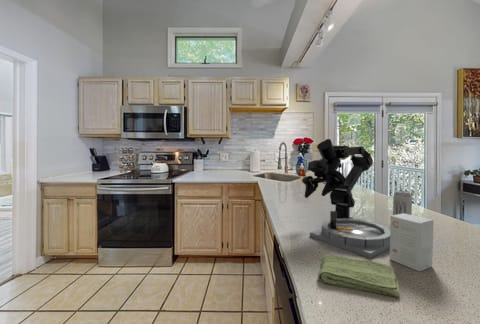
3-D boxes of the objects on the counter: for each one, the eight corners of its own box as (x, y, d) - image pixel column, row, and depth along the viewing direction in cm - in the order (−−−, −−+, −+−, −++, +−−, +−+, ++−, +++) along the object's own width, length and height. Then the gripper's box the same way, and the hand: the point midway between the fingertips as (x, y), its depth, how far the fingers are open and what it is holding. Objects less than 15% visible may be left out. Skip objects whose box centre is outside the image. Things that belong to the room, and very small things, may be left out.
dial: (379, 229, 91) (379, 210, 91) (384, 246, 76) (385, 223, 75) (331, 224, 98) (332, 206, 97) (328, 238, 83) (328, 217, 82)
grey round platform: (343, 224, 102) (344, 214, 102) (402, 240, 84) (403, 228, 84) (309, 236, 90) (309, 224, 89) (370, 258, 72) (370, 244, 71)
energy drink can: (390, 230, 95) (392, 192, 94) (394, 226, 100) (395, 189, 99) (409, 233, 91) (410, 194, 90) (412, 229, 96) (413, 191, 95)
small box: (432, 266, 66) (434, 219, 66) (419, 272, 64) (421, 223, 63) (401, 255, 74) (403, 212, 73) (388, 259, 71) (389, 215, 70)
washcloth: (403, 302, 52) (403, 288, 52) (317, 284, 59) (317, 271, 59) (392, 273, 64) (392, 261, 64) (322, 261, 71) (322, 250, 71)
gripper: (302, 159, 108) (285, 185, 101) (335, 148, 91) (317, 178, 85) (318, 176, 110) (302, 203, 103) (353, 168, 94) (337, 200, 87)
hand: (313, 196), depth 94 cm, fingers open, 9 cm apart
